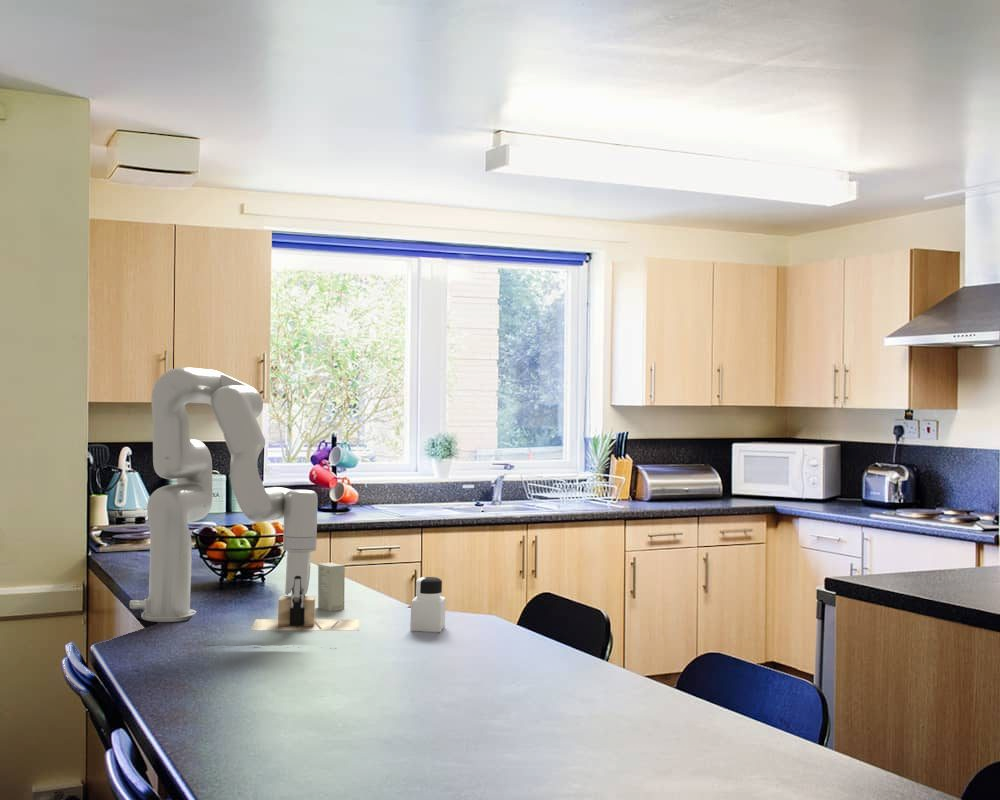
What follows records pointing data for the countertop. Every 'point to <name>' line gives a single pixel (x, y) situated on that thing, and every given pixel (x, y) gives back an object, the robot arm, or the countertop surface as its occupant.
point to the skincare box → (331, 586)
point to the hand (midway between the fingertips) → (297, 622)
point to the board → (318, 625)
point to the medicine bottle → (428, 606)
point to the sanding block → (285, 611)
